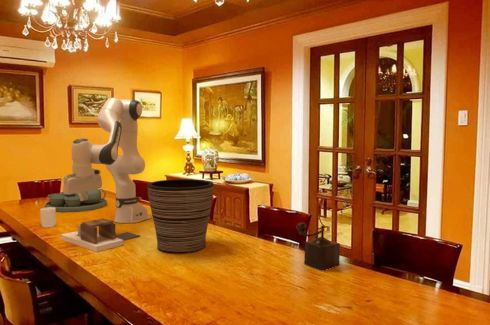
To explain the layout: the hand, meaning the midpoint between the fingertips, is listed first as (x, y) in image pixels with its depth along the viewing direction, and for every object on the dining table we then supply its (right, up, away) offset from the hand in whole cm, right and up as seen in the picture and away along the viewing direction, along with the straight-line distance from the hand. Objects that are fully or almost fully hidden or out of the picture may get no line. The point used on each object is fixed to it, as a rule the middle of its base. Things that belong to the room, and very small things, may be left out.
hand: (83, 200), depth 200 cm
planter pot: (+49, -21, -8) cm, 54 cm away
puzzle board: (+4, -20, -2) cm, 21 cm away
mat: (+18, -19, +8) cm, 27 cm away
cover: (+9, -18, -6) cm, 21 cm away
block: (-1, -20, +3) cm, 20 cm away
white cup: (-32, -17, +30) cm, 47 cm away
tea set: (-39, -13, +86) cm, 95 cm away
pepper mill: (+108, -24, -34) cm, 116 cm away
